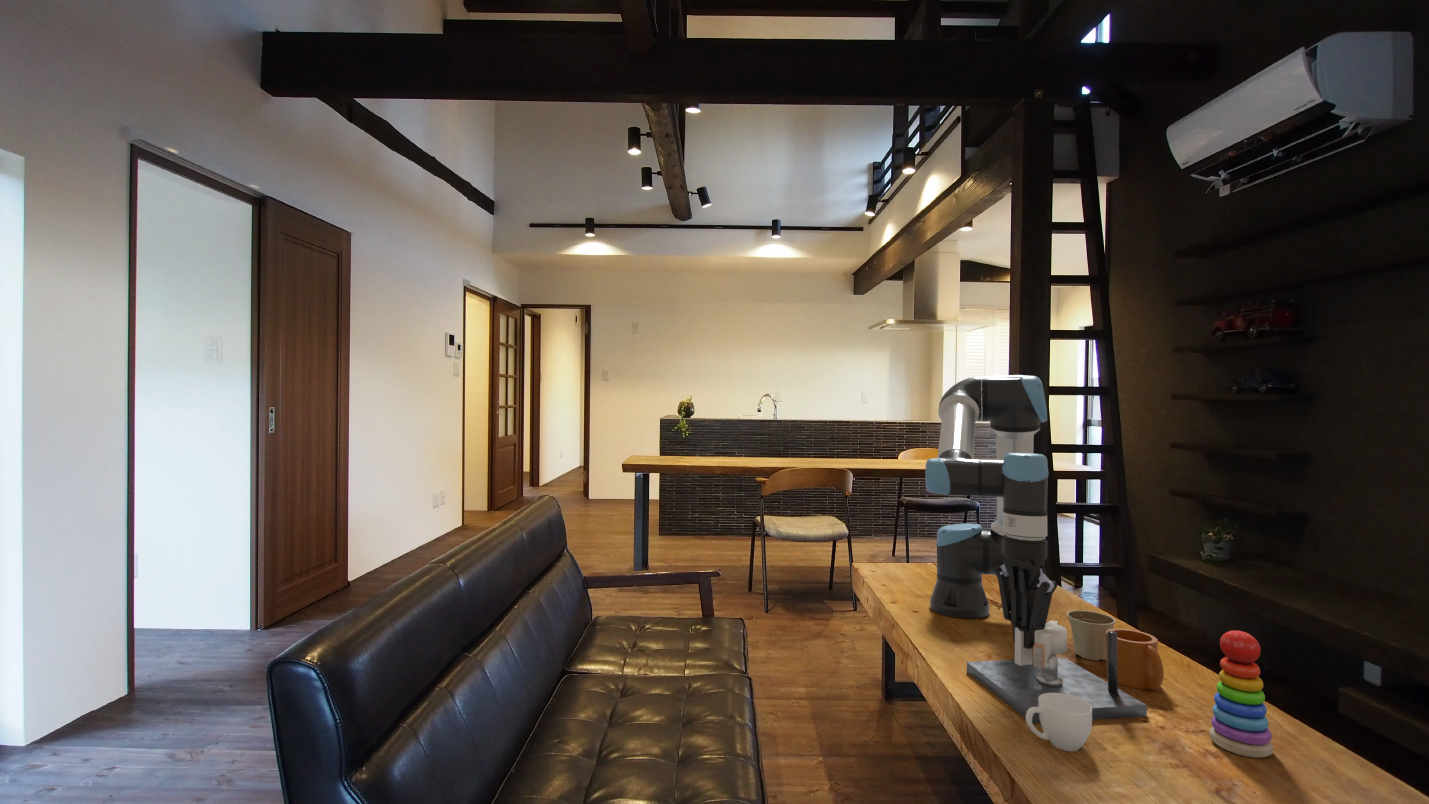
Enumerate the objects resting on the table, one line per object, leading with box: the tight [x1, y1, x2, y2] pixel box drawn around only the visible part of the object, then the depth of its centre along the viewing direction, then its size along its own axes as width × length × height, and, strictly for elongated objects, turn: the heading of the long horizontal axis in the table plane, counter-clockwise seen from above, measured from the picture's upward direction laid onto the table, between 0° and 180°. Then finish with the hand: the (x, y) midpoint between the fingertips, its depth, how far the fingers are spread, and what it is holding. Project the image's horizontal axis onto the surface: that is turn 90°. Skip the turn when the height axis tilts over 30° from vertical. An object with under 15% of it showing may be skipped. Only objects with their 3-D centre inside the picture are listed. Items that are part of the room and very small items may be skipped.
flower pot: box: [1066, 609, 1117, 662], centre depth 140 cm, size 9×9×9 cm
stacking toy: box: [1208, 630, 1274, 759], centre depth 102 cm, size 8×8×19 cm
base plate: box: [966, 631, 1148, 724], centre depth 122 cm, size 22×22×13 cm
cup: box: [1025, 693, 1093, 752], centre depth 102 cm, size 8×10×7 cm
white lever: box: [1032, 619, 1068, 669], centre depth 119 cm, size 18×6×4 cm, turn 143°
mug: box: [1105, 628, 1165, 691], centre depth 126 cm, size 9×12×9 cm
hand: (1023, 663), depth 116 cm, fingers closed
